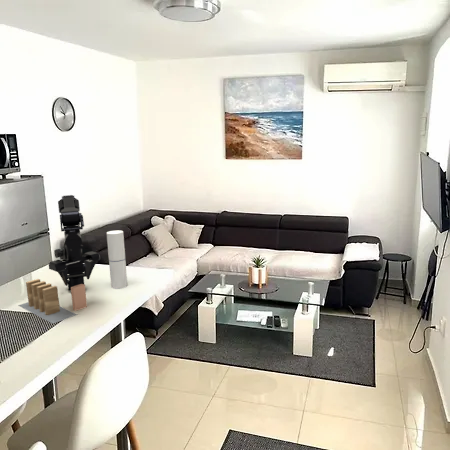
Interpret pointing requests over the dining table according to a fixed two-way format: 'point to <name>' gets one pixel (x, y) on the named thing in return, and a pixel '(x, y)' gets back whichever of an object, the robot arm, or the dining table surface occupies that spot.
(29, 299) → the domino
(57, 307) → the domino
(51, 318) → the mat
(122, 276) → the cylindrical container
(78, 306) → the terracotta domino
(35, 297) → the domino
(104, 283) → the dining table surface
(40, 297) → the domino
